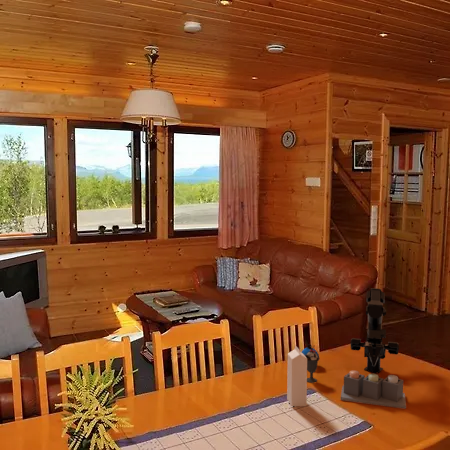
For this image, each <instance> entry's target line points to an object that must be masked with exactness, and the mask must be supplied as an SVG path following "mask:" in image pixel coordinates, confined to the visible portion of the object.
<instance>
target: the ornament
mask: <svg viewBox="0 0 450 450" xmlns="http://www.w3.org/2000/svg"><path fill="white" fill-rule="evenodd" d="M314 349H315V347H314V348H313V346H312V345H311V344H310V343H309V344H308V345H307V347H305V348H304V349H302V350H301V352H302V353H303V354H304V355H307V353H308V352H309V351H310V350H313V351H314ZM315 351H316V352H315V353H316V354H317V356H318V357H319V358H320V354H319V353H318V351H317V350H316V349H315Z"/></svg>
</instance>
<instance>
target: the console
mask: <svg viewBox="0 0 450 450" xmlns="http://www.w3.org/2000/svg"><path fill="white" fill-rule="evenodd" d="M368 377H369V374H368V375H367V376H365V375H364V374H360V373H359V378H358V379H355V378H351V377H350V372H348V373H346V374H345V375H344V376H343V385H342V387H341V391H340V392H341V393H340V401H343V402H344V401H345V402H353V403H360V404H368V405H375V406H382V407H383V406H384V407H390V408H397V409H407V404H406V403H407V401H406V394H405V392H404V379H401V378H398V383H397V384H395V383H391V382H388V376H387V377H385V378H383V377H379V376H378V382H373V381H369V380H368Z"/></svg>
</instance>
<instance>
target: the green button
mask: <svg viewBox="0 0 450 450" xmlns="http://www.w3.org/2000/svg"><path fill="white" fill-rule="evenodd" d="M368 375H369V377H368V380H369V381H373V382H378V377H379V374H378V373H368Z"/></svg>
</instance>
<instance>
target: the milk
mask: <svg viewBox="0 0 450 450" xmlns="http://www.w3.org/2000/svg"><path fill="white" fill-rule="evenodd" d="M286 373H287V377H286V378H287V381H286V382H287V383H286V384H287V385H286V389H287V391H286V401H287V400H288V401H289V402H288V401H287V402H288V404H289V403H290V404H289V405H290V407H291V406H300V407H307V404H308V403H307V400H308V399H307V398H308V396H307V395H308V393H307V392H308V388H307V387H308V386H307V385H308V382H307V378H308V377H307V376H308V370H307V358H306V356H305V355H304V354H303V353H302V351H301V350H300V349H299V347H298V346H296V345H295V346H294V349H293V350H291V351H289V352H288V353H287V371H286Z"/></svg>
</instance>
